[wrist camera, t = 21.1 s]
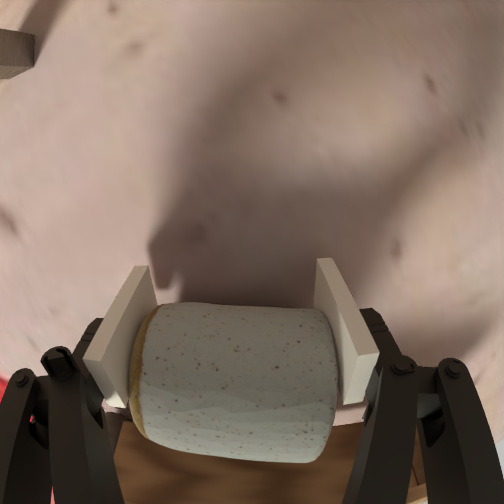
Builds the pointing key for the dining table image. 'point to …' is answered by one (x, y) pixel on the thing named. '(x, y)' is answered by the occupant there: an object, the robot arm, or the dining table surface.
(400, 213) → the dining table surface
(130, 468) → the brown wooden board
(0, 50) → the gate posts
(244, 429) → the ceramic mug
